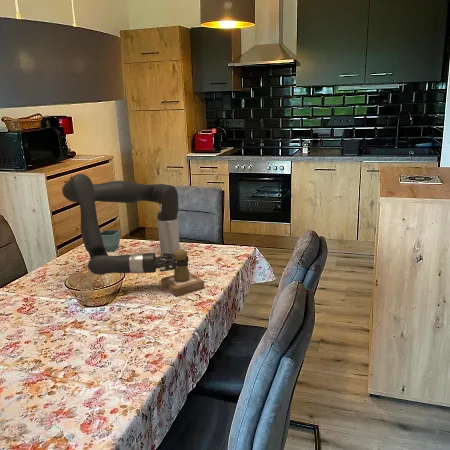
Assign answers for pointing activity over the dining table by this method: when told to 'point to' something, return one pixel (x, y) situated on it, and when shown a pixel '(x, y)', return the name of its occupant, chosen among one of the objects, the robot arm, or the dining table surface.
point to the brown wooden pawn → (182, 271)
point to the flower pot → (110, 239)
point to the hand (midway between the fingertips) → (187, 260)
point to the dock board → (182, 285)
